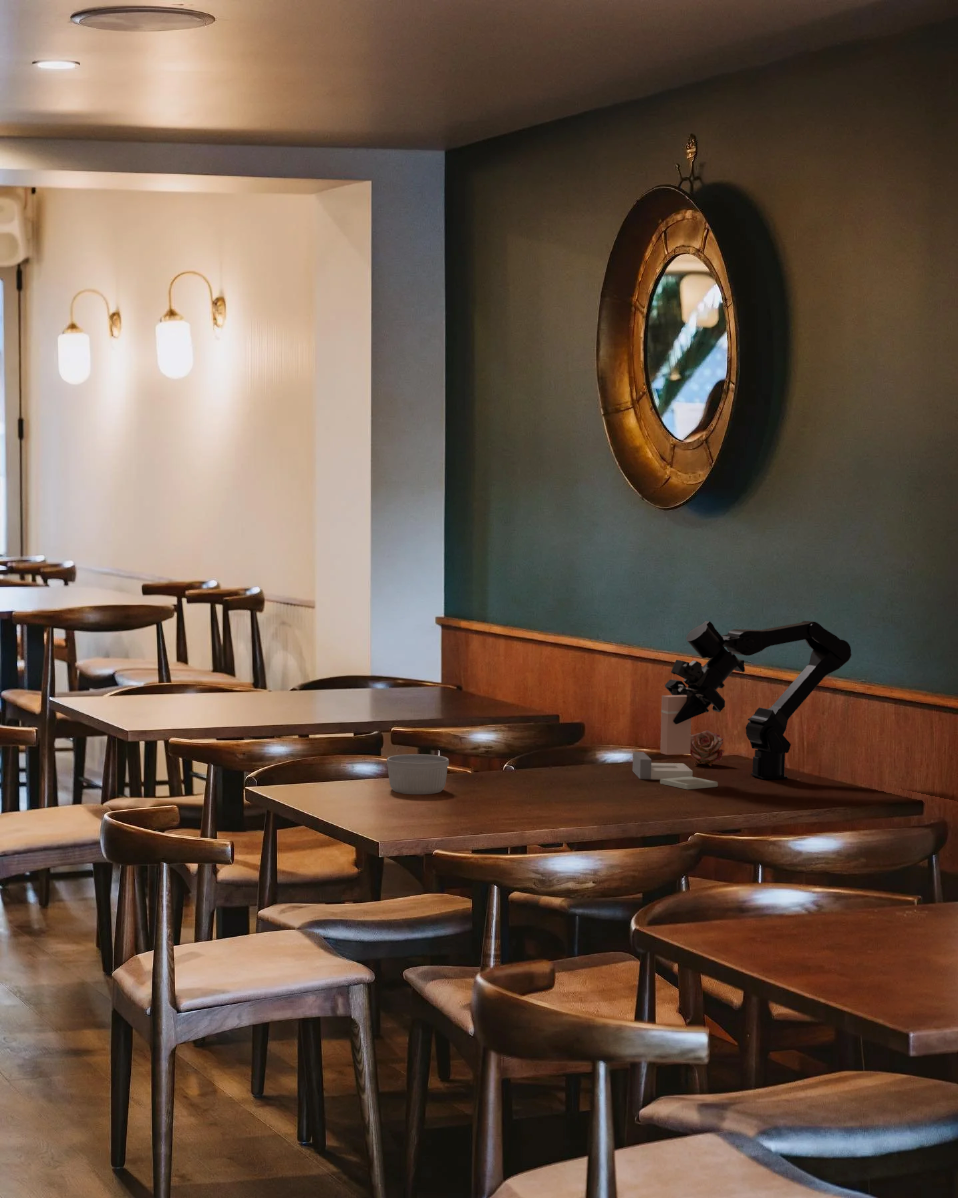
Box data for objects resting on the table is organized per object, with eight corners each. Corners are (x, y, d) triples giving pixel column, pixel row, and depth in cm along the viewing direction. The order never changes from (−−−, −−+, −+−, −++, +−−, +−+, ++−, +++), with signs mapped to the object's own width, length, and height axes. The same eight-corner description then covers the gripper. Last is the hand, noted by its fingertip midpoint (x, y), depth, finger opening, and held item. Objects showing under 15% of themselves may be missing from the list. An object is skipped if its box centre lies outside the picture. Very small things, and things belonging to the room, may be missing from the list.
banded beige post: (683, 751, 369) (685, 694, 368) (690, 753, 366) (692, 696, 365) (660, 752, 366) (661, 695, 366) (666, 754, 364) (668, 697, 363)
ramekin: (390, 796, 338) (391, 763, 337) (381, 786, 351) (382, 754, 350) (453, 795, 340) (454, 762, 340) (441, 785, 353) (442, 753, 353)
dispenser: (683, 772, 381) (683, 752, 381) (692, 780, 369) (692, 760, 369) (632, 771, 380) (633, 752, 380) (639, 779, 369) (640, 759, 368)
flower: (681, 753, 400) (681, 730, 395) (717, 746, 401) (717, 722, 396) (693, 780, 393) (693, 756, 388) (729, 773, 393) (730, 749, 389)
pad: (690, 780, 368) (690, 776, 368) (717, 786, 360) (717, 782, 360) (660, 783, 363) (660, 779, 363) (687, 789, 355) (687, 785, 355)
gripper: (673, 644, 375) (629, 693, 371) (714, 651, 358) (669, 701, 354) (702, 678, 378) (659, 726, 375) (744, 686, 361) (699, 736, 357)
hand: (670, 722), depth 365 cm, fingers closed on banded beige post, 3 cm apart
